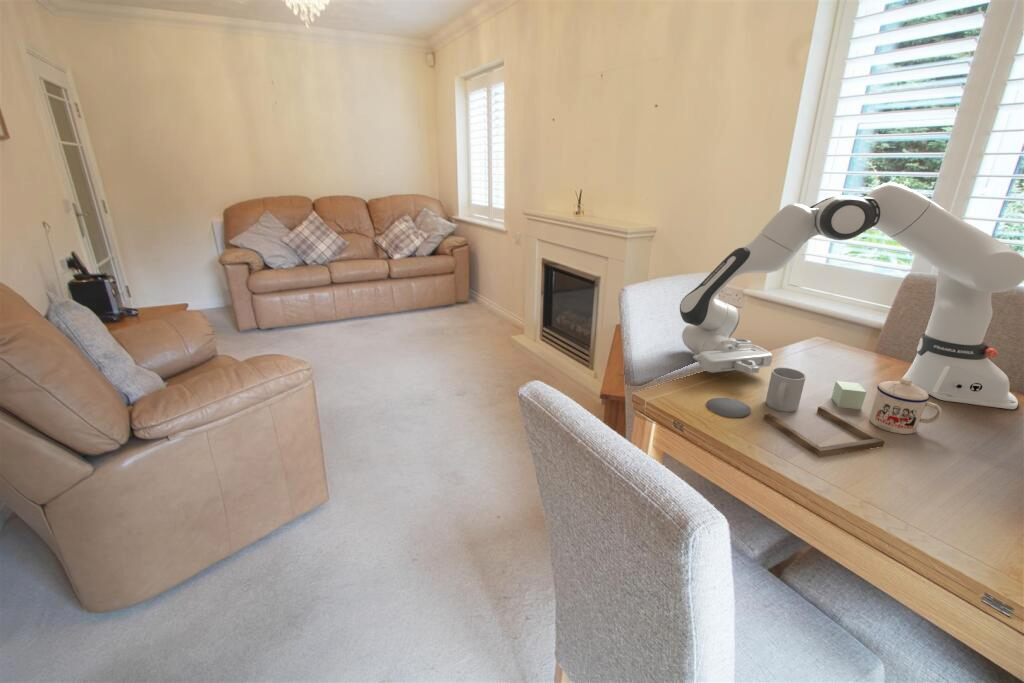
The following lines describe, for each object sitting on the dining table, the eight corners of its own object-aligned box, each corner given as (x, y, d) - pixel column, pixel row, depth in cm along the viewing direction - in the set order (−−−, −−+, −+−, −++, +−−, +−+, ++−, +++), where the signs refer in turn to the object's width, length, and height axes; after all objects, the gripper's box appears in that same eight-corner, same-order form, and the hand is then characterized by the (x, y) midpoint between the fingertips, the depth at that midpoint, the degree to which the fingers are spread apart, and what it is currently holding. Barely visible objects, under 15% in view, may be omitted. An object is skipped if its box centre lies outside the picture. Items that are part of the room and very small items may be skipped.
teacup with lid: (867, 427, 106) (881, 381, 101) (867, 411, 112) (880, 367, 108) (936, 444, 99) (954, 395, 95) (931, 426, 106) (948, 380, 102)
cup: (800, 404, 116) (808, 372, 113) (791, 420, 109) (799, 386, 106) (769, 396, 120) (776, 365, 117) (758, 410, 113) (765, 377, 110)
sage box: (853, 400, 118) (858, 383, 116) (861, 410, 113) (866, 391, 112) (831, 398, 119) (835, 380, 117) (837, 407, 115) (842, 389, 113)
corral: (763, 419, 109) (764, 413, 109) (821, 411, 113) (822, 406, 112) (818, 457, 95) (820, 451, 94) (882, 446, 98) (884, 440, 98)
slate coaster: (746, 401, 118) (746, 399, 118) (754, 420, 109) (754, 417, 108) (704, 398, 120) (704, 396, 120) (708, 415, 111) (708, 413, 111)
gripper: (691, 345, 132) (722, 363, 119) (752, 339, 136) (789, 356, 123) (688, 365, 134) (718, 385, 121) (749, 358, 138) (784, 377, 125)
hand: (754, 370), depth 122 cm, fingers closed
